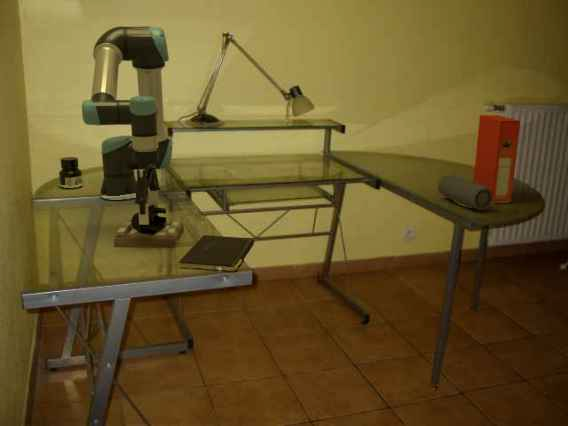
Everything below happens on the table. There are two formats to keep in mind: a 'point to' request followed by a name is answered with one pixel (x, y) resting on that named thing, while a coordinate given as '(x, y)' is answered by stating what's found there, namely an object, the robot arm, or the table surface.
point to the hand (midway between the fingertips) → (149, 217)
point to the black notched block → (150, 221)
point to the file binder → (496, 155)
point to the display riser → (149, 236)
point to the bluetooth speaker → (465, 192)
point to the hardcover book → (217, 252)
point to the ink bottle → (70, 172)
